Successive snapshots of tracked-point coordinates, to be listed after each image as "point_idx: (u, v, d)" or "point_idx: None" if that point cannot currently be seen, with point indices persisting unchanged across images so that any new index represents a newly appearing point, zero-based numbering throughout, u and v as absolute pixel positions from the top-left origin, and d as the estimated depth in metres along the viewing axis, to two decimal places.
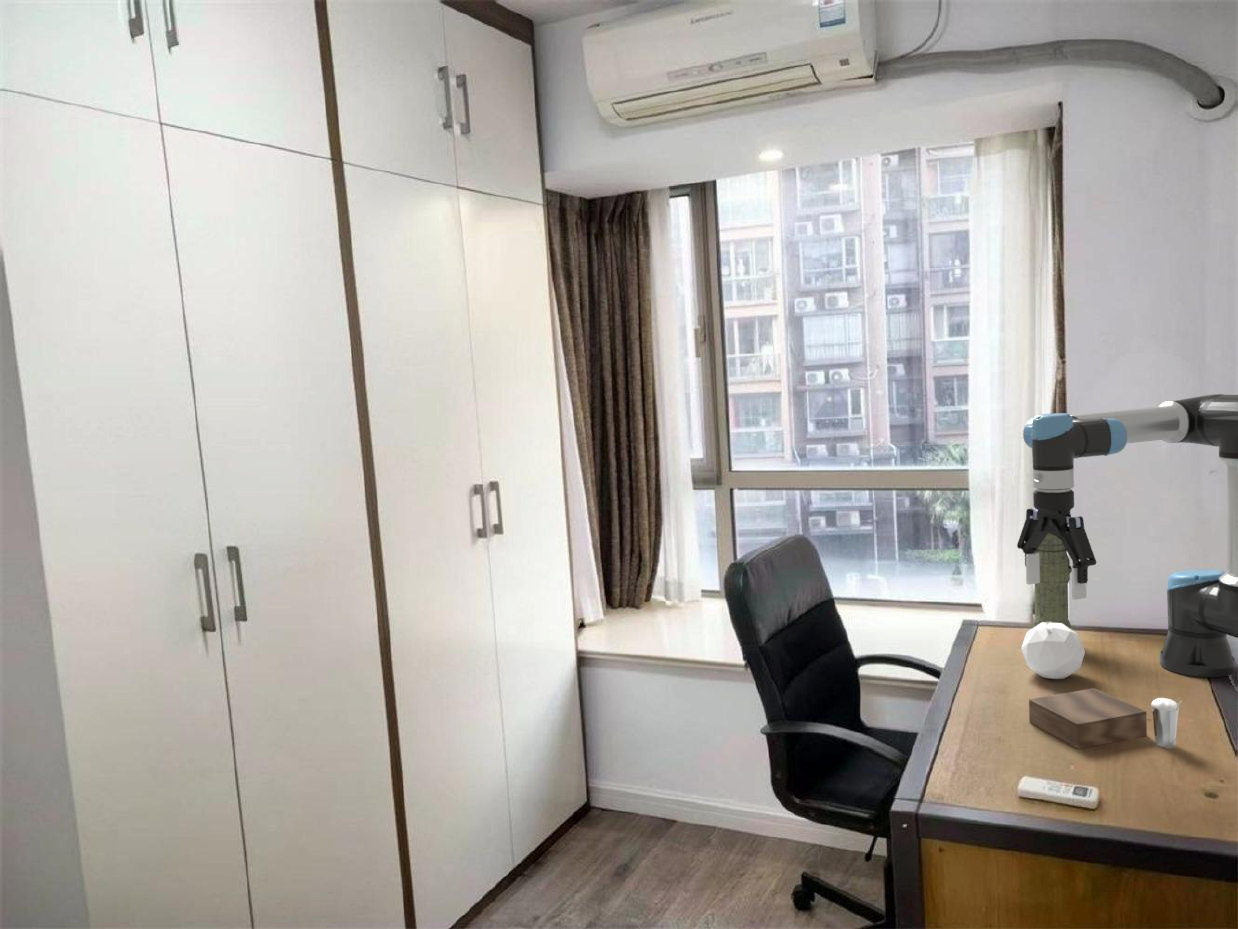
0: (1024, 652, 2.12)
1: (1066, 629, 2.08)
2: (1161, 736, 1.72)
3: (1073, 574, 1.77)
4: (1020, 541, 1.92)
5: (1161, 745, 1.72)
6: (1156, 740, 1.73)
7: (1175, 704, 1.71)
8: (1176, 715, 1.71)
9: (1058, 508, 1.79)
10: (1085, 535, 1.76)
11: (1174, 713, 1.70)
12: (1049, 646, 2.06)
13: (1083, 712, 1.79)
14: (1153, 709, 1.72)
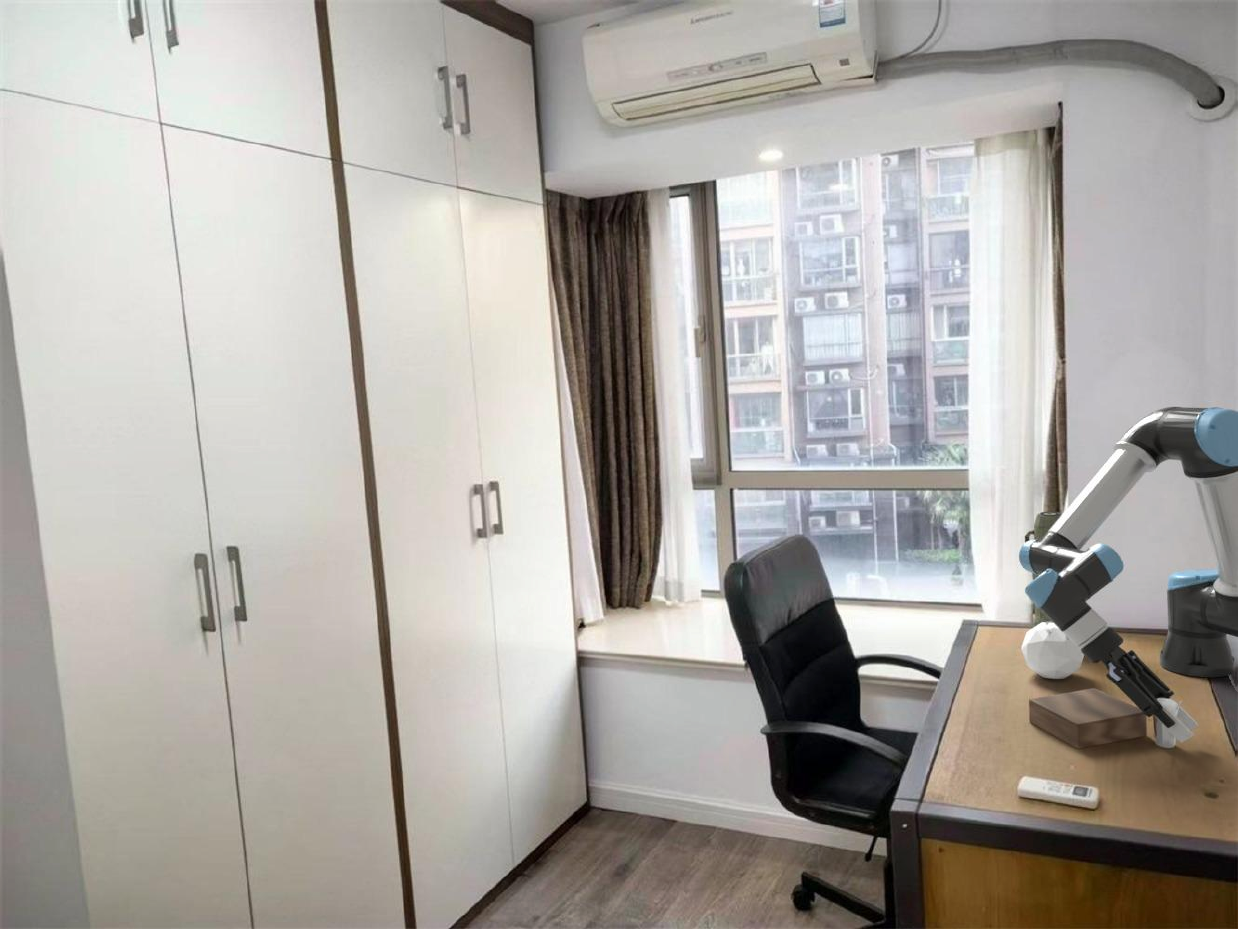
0: (1024, 652, 2.12)
1: None
2: (1161, 736, 1.72)
3: None
4: None
5: (1160, 745, 1.72)
6: (1156, 740, 1.73)
7: (1175, 704, 1.71)
8: (1176, 715, 1.70)
9: (1096, 659, 1.76)
10: (1131, 685, 1.70)
11: (1174, 713, 1.70)
12: (1049, 646, 2.06)
13: (1083, 712, 1.79)
14: None
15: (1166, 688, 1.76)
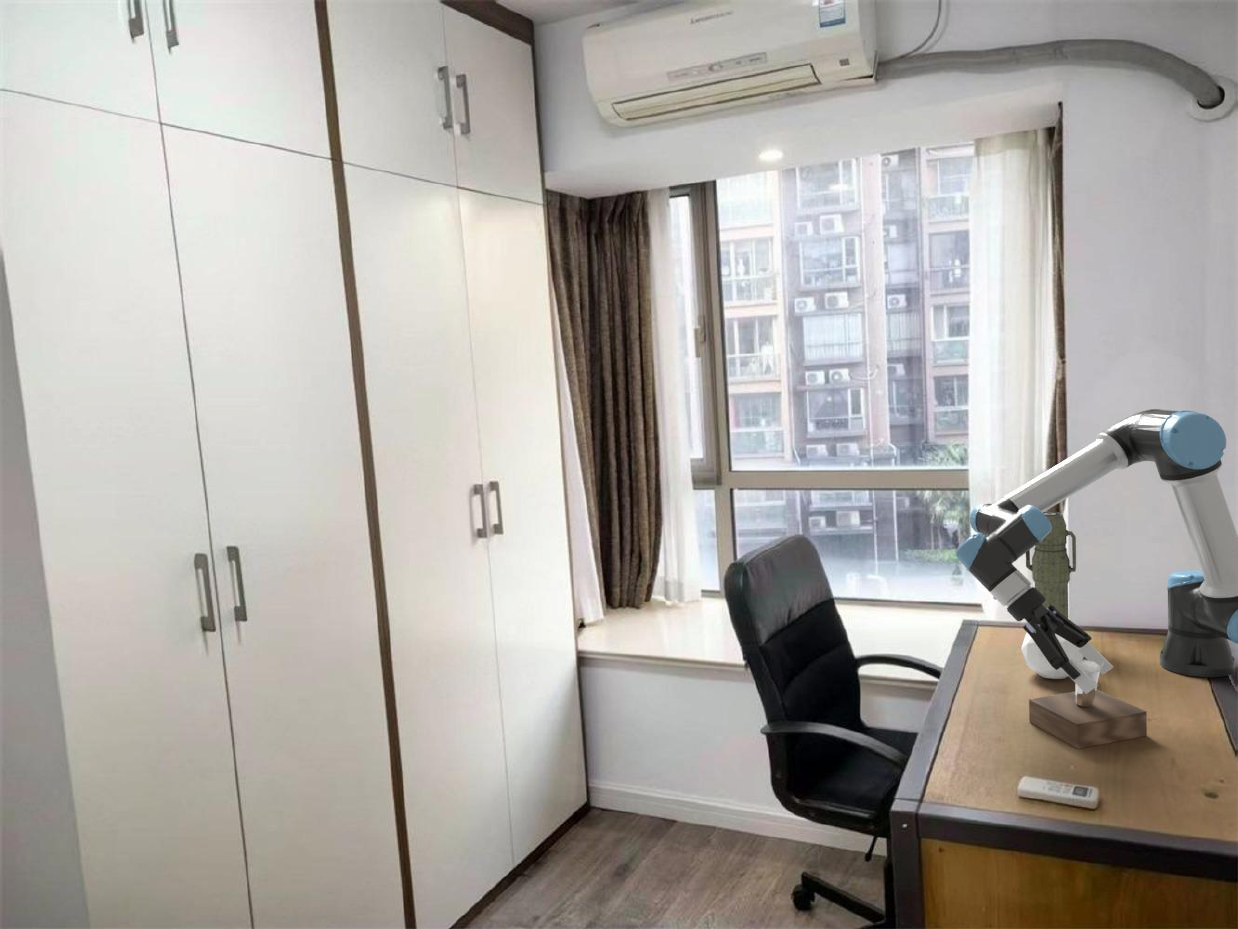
0: (1024, 652, 2.12)
1: None
2: (1081, 695, 1.81)
3: None
4: None
5: (1079, 704, 1.81)
6: (1076, 699, 1.82)
7: (1097, 666, 1.80)
8: (1097, 677, 1.79)
9: (1019, 617, 1.85)
10: (1042, 636, 1.79)
11: (1095, 675, 1.79)
12: None
13: (1083, 712, 1.79)
14: None
15: (1085, 635, 1.88)
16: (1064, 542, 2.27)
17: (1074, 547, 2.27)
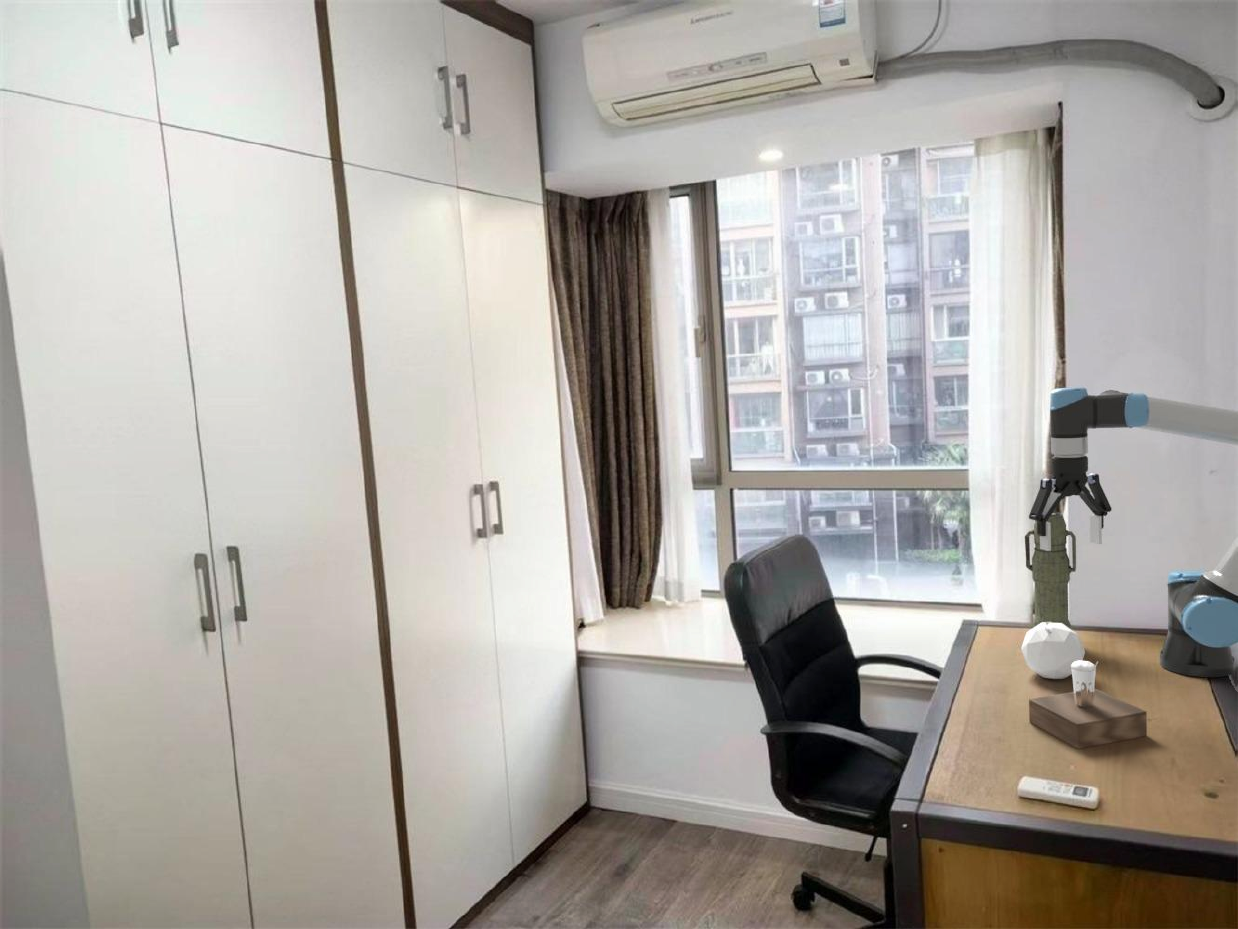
0: (1024, 652, 2.12)
1: (1066, 629, 2.08)
2: (1080, 696, 1.81)
3: None
4: None
5: (1079, 705, 1.81)
6: (1075, 700, 1.82)
7: (1092, 665, 1.80)
8: (1093, 676, 1.80)
9: (1052, 470, 2.05)
10: (1043, 495, 2.02)
11: (1091, 674, 1.79)
12: (1049, 646, 2.06)
13: (1083, 712, 1.79)
14: (1072, 671, 1.82)
15: (1107, 509, 2.06)
16: (1064, 542, 2.27)
17: (1074, 547, 2.27)
